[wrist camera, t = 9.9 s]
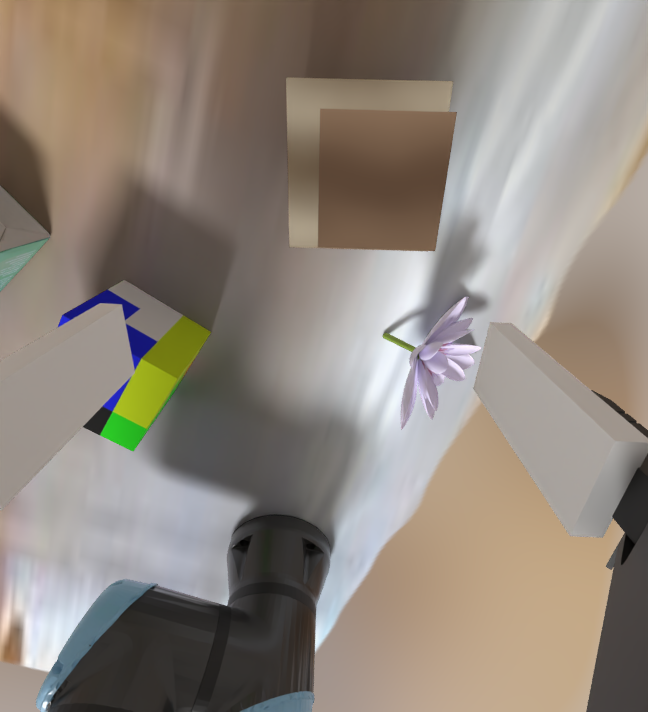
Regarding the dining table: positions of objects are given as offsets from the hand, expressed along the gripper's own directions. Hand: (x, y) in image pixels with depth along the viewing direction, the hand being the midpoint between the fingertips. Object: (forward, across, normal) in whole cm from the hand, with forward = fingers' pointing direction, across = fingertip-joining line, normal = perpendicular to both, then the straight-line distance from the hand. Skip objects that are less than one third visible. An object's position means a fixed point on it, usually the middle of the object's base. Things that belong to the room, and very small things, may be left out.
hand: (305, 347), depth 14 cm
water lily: (+26, -12, +11) cm, 30 cm away
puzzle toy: (+26, +18, +12) cm, 34 cm away
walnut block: (+15, -3, -6) cm, 17 cm away
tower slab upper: (+20, -3, -6) cm, 21 cm away
